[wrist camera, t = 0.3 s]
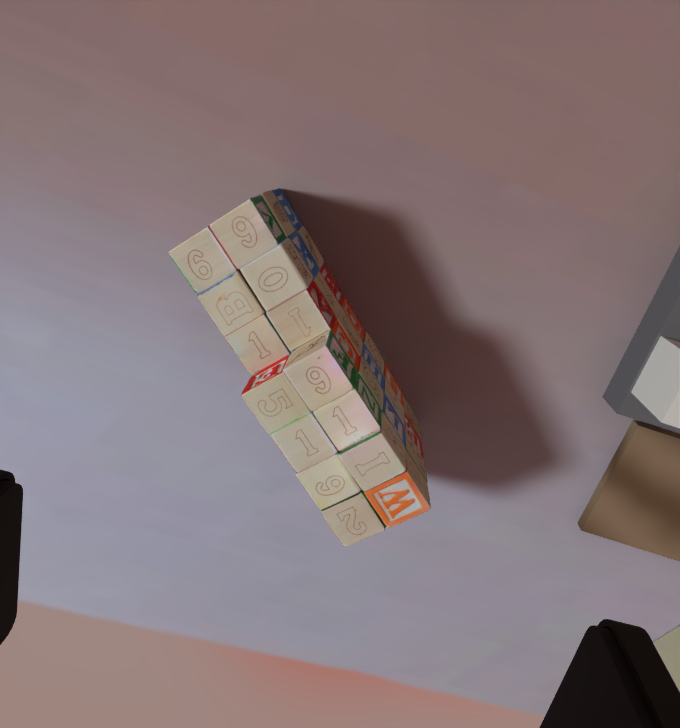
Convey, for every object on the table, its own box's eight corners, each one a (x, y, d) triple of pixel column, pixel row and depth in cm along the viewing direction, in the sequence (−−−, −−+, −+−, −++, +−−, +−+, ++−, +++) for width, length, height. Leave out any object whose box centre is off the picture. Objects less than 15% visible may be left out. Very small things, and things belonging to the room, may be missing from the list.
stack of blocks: (210, 230, 44) (145, 258, 32) (281, 185, 42) (239, 198, 31) (355, 457, 49) (344, 551, 37) (422, 425, 47) (432, 512, 36)
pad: (633, 420, 46) (638, 425, 45) (754, 458, 46) (761, 464, 45) (577, 523, 49) (581, 530, 48) (690, 558, 49) (695, 566, 48)
